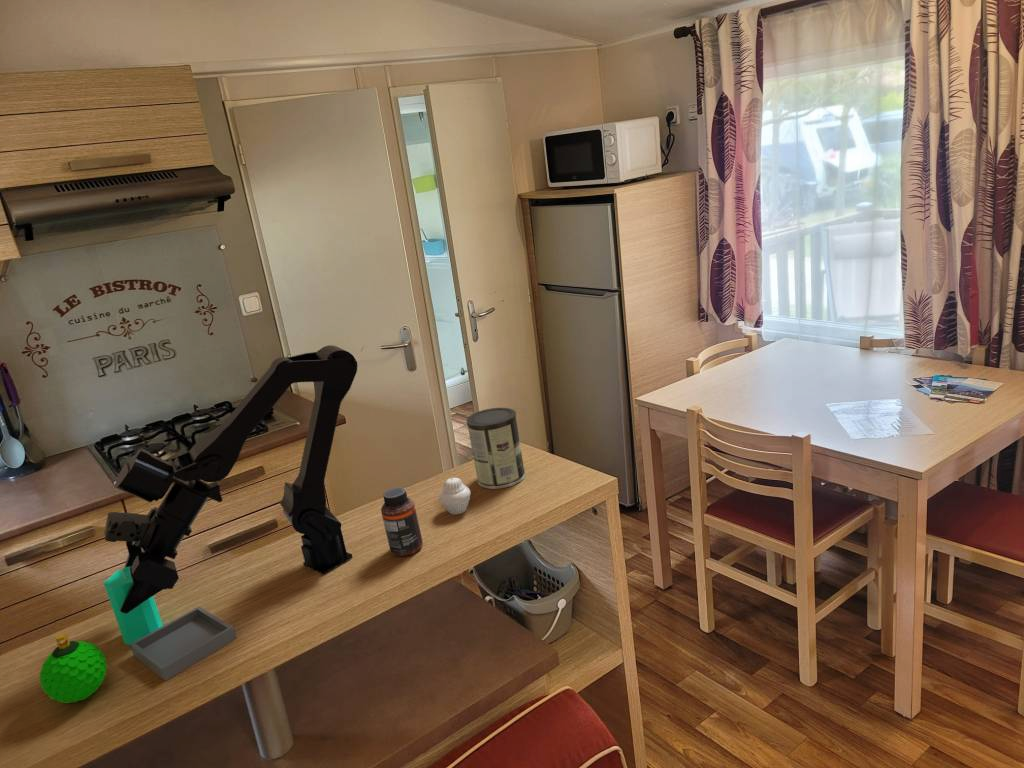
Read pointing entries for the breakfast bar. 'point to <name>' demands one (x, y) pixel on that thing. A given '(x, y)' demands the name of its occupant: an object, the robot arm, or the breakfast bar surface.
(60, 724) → the breakfast bar surface
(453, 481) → the muffin
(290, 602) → the breakfast bar surface
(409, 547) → the supplement bottle
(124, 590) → the candle
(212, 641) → the tray
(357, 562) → the breakfast bar surface
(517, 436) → the coffee can
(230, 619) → the breakfast bar surface
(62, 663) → the ornament
